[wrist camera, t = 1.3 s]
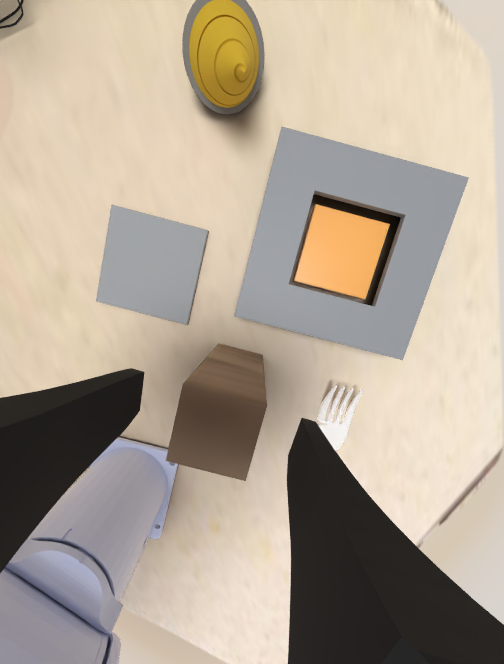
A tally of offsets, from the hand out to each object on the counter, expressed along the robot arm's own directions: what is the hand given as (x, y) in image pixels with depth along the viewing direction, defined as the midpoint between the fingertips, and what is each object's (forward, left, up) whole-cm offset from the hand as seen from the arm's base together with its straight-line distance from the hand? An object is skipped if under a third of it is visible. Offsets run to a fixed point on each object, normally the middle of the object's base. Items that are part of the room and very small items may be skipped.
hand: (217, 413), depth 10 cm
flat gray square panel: (+6, +9, -11) cm, 15 cm away
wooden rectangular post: (-1, 0, -11) cm, 11 cm away
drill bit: (+20, +5, -11) cm, 23 cm away
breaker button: (+10, -6, -9) cm, 15 cm away
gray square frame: (+10, -6, -11) cm, 16 cm away
